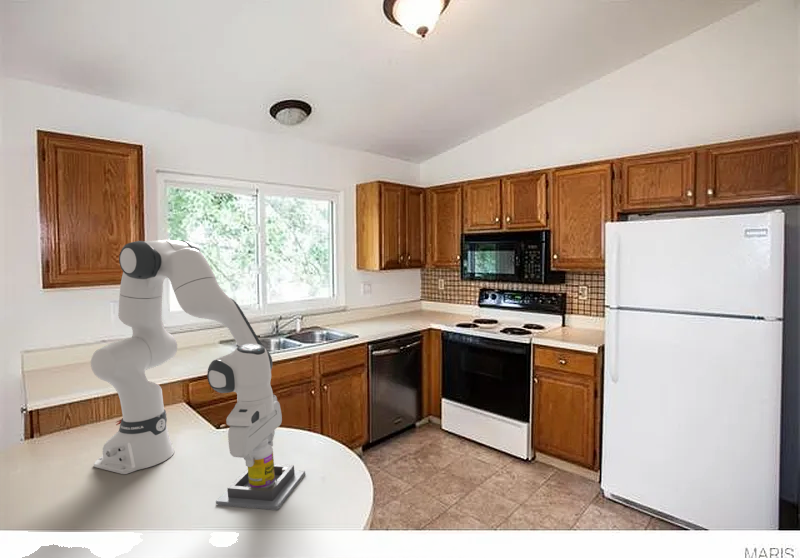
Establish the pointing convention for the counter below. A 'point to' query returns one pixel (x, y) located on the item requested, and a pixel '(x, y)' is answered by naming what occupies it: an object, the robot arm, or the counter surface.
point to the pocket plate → (262, 490)
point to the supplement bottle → (262, 466)
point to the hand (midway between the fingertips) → (260, 456)
